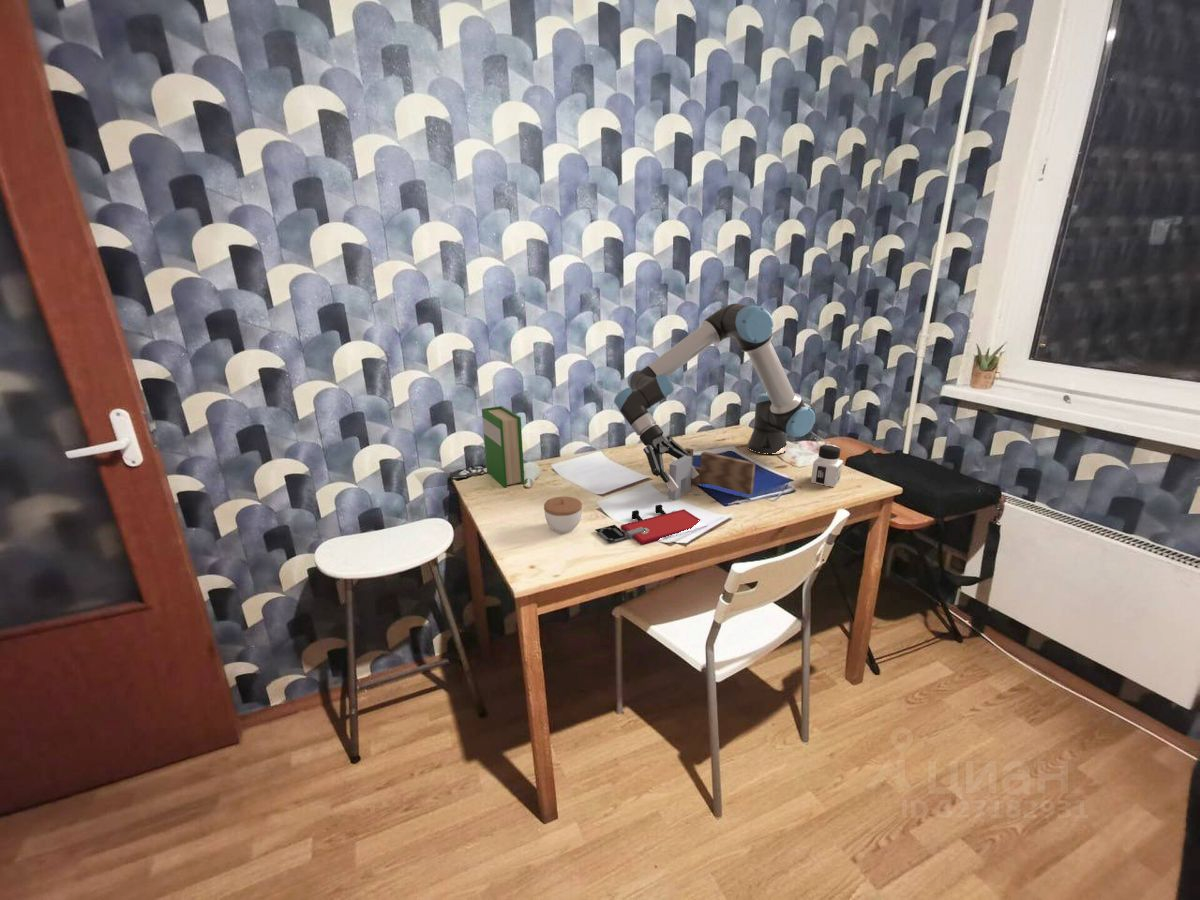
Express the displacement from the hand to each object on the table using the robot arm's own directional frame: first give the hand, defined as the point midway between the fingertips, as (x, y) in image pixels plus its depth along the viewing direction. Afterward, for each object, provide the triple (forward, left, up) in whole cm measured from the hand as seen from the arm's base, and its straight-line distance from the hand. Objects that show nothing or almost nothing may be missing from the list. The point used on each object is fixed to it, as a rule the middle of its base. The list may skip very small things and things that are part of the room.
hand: (686, 483), depth 172 cm
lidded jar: (+6, -43, -5) cm, 44 cm away
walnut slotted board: (-1, +12, -5) cm, 13 cm away
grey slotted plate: (-2, -1, -5) cm, 5 cm away
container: (+9, +51, -5) cm, 51 cm away
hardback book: (-39, -50, -5) cm, 64 cm away
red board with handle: (+15, -21, -5) cm, 26 cm away
